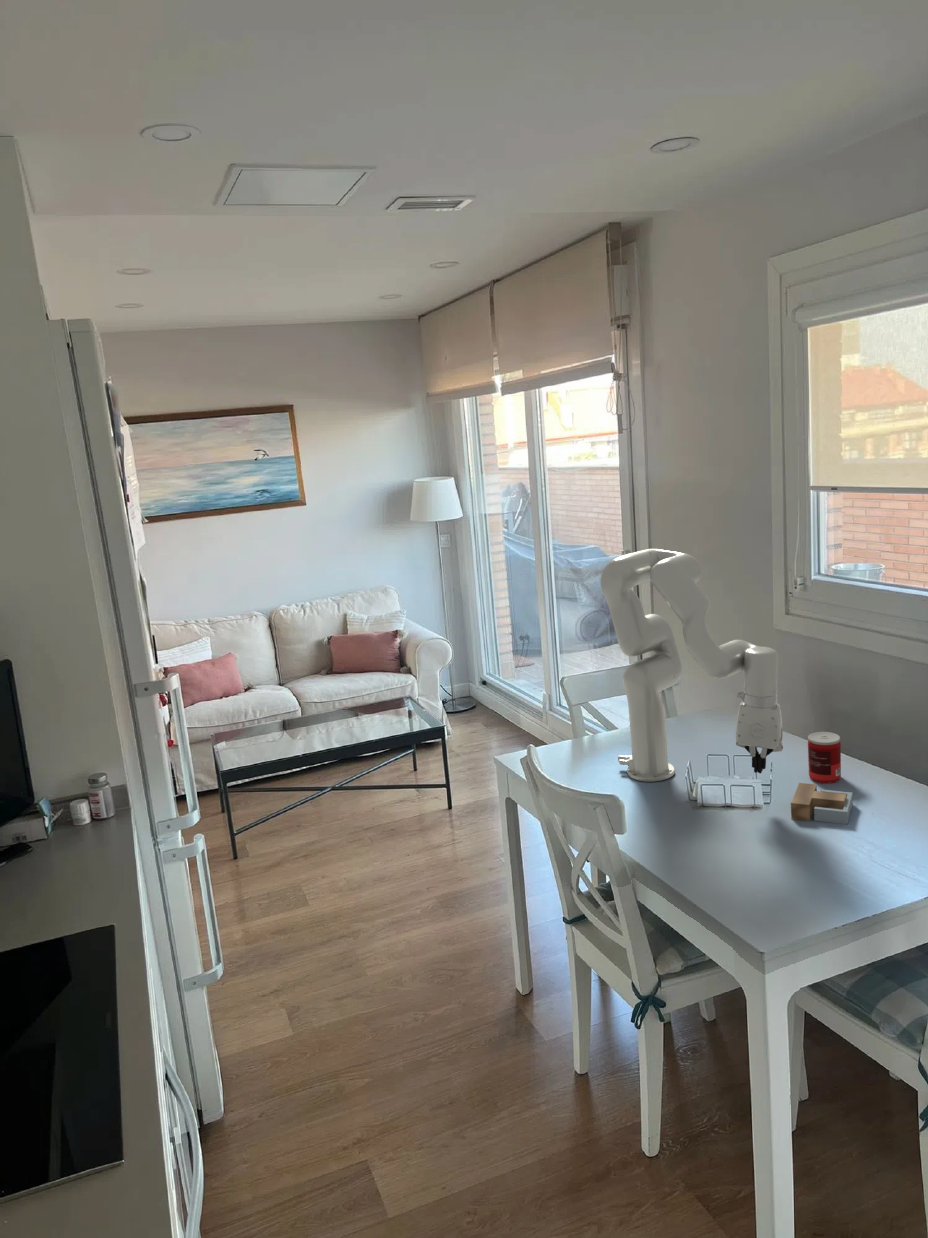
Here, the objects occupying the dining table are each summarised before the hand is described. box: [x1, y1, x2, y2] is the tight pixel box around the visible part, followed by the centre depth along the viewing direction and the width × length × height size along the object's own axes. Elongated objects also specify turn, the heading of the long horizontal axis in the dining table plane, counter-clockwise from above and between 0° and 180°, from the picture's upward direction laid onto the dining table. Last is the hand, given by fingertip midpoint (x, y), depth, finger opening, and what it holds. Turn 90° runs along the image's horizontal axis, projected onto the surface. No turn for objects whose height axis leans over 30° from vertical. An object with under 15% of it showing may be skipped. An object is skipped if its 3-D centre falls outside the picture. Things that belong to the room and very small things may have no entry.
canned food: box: [807, 731, 842, 784], centre depth 227 cm, size 8×8×11 cm
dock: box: [813, 789, 854, 825], centre depth 209 cm, size 7×11×3 cm, turn 151°
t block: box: [790, 782, 846, 822], centre depth 210 cm, size 11×12×4 cm
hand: (758, 770), depth 216 cm, fingers closed
